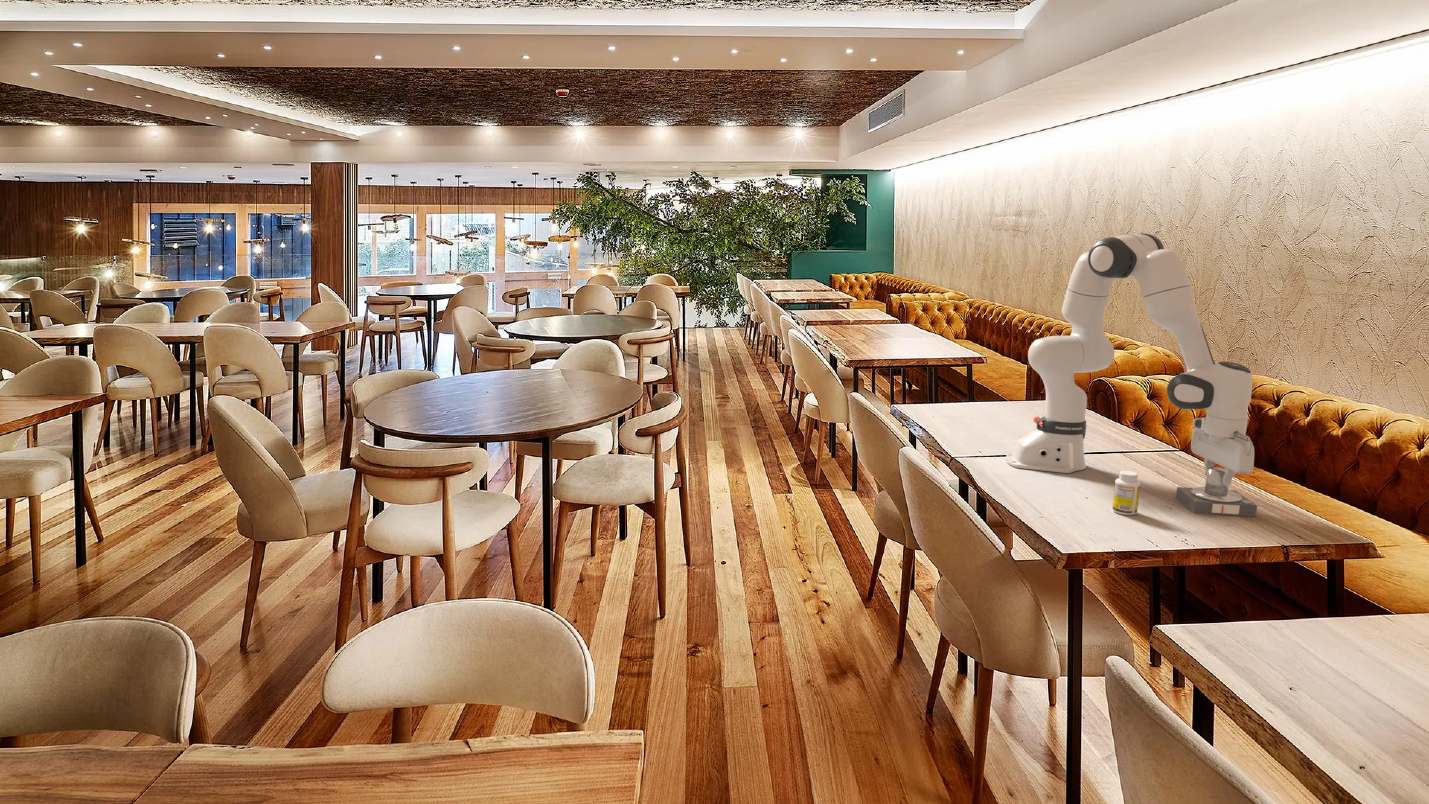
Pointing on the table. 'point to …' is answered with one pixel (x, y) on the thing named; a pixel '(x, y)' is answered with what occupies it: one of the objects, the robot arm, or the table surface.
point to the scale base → (1216, 504)
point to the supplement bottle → (1126, 493)
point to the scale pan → (1216, 496)
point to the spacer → (1215, 482)
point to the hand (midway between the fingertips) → (1217, 480)
